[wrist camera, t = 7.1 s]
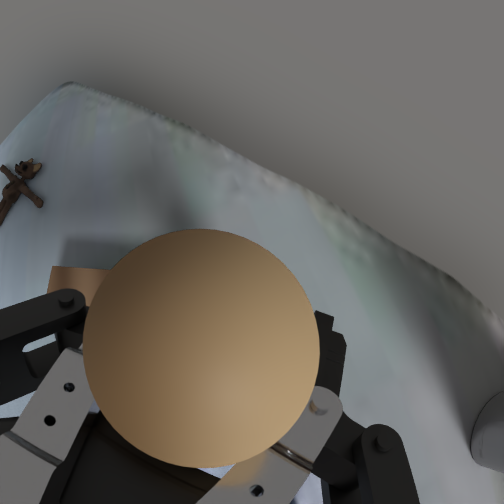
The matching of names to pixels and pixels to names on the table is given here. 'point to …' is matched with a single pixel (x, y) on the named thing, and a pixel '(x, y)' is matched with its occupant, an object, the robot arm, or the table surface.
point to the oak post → (201, 348)
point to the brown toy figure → (18, 186)
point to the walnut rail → (77, 280)
